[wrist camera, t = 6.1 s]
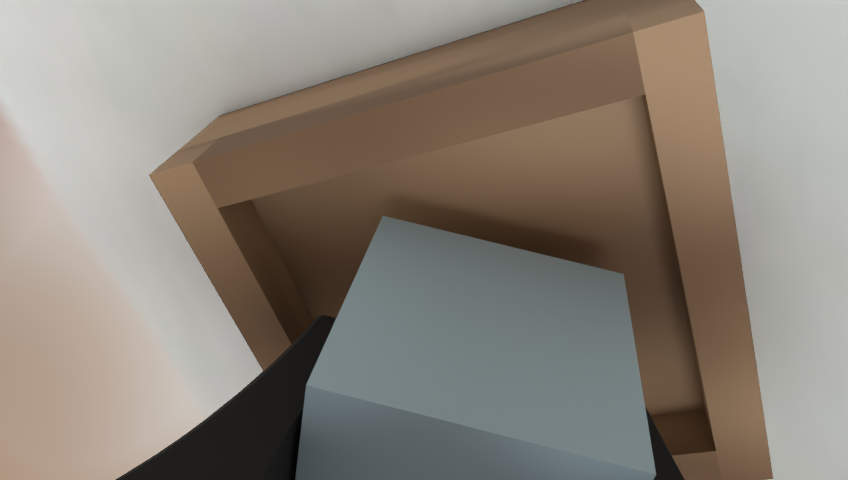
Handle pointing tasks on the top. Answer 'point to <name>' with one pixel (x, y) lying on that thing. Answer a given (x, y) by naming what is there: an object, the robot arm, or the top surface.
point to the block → (475, 368)
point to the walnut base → (505, 195)
